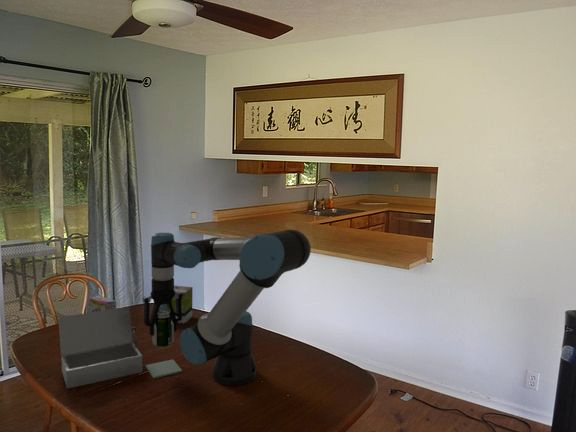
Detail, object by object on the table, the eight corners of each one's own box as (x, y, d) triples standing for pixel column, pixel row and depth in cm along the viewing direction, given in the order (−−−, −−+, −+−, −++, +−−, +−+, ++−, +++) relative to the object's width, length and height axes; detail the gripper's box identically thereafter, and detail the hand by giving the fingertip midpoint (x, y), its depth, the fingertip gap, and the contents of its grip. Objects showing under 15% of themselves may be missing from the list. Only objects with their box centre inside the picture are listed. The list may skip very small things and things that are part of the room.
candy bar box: (89, 336, 192) (88, 298, 190) (100, 332, 196) (99, 295, 194) (106, 343, 186) (105, 303, 184) (117, 339, 190) (116, 300, 188)
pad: (182, 372, 164) (182, 370, 163) (153, 378, 158) (153, 376, 158) (172, 360, 172) (172, 359, 172) (145, 366, 167) (145, 365, 167)
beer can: (172, 342, 167) (172, 310, 165) (168, 349, 161) (168, 315, 160) (157, 342, 167) (157, 309, 165) (153, 348, 161) (152, 315, 160)
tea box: (153, 321, 211) (152, 289, 209) (162, 314, 221) (162, 283, 219) (184, 324, 208) (184, 292, 206) (193, 316, 218) (193, 286, 216)
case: (146, 371, 163) (145, 320, 161) (66, 388, 150) (64, 334, 148) (133, 351, 179) (132, 305, 176) (60, 366, 165) (58, 316, 163)
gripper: (184, 272, 169) (184, 333, 172) (132, 278, 159) (133, 343, 162) (192, 277, 162) (192, 340, 166) (138, 283, 153) (139, 351, 156)
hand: (163, 341), depth 164 cm, fingers closed on beer can, 5 cm apart
